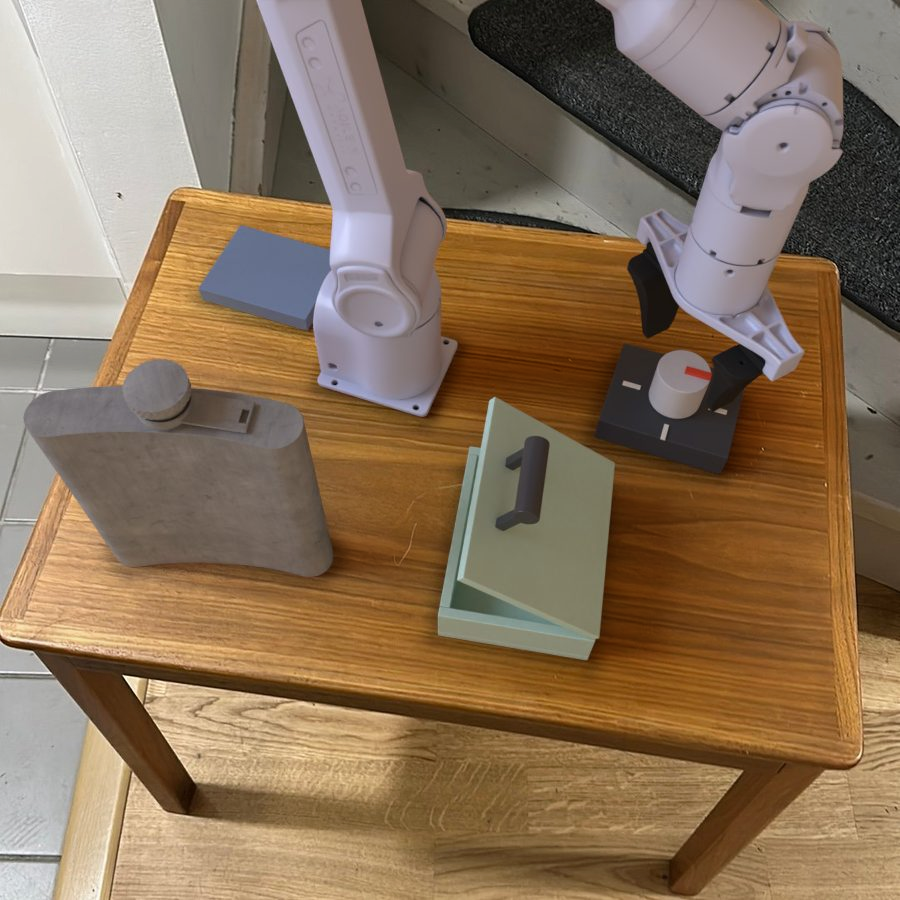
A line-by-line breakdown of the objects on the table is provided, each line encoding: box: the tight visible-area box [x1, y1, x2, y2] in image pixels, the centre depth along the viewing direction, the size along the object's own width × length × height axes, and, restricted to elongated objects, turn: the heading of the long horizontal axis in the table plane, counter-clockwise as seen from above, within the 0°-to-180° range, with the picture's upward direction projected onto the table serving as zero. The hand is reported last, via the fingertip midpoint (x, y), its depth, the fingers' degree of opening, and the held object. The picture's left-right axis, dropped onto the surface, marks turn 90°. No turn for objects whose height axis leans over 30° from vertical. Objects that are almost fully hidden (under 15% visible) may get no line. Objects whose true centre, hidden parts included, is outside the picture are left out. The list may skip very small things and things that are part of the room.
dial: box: [649, 349, 712, 419], centre depth 70 cm, size 4×4×4 cm
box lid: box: [457, 396, 616, 641], centre depth 60 cm, size 11×13×4 cm
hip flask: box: [22, 358, 335, 578], centre depth 59 cm, size 16×4×20 cm, turn 87°
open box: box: [437, 445, 596, 661], centre depth 65 cm, size 10×13×4 cm
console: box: [593, 342, 745, 475], centre depth 73 cm, size 10×8×3 cm
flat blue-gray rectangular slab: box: [198, 224, 332, 331], centre depth 80 cm, size 10×8×2 cm
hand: (686, 366), depth 68 cm, fingers open, 7 cm apart
